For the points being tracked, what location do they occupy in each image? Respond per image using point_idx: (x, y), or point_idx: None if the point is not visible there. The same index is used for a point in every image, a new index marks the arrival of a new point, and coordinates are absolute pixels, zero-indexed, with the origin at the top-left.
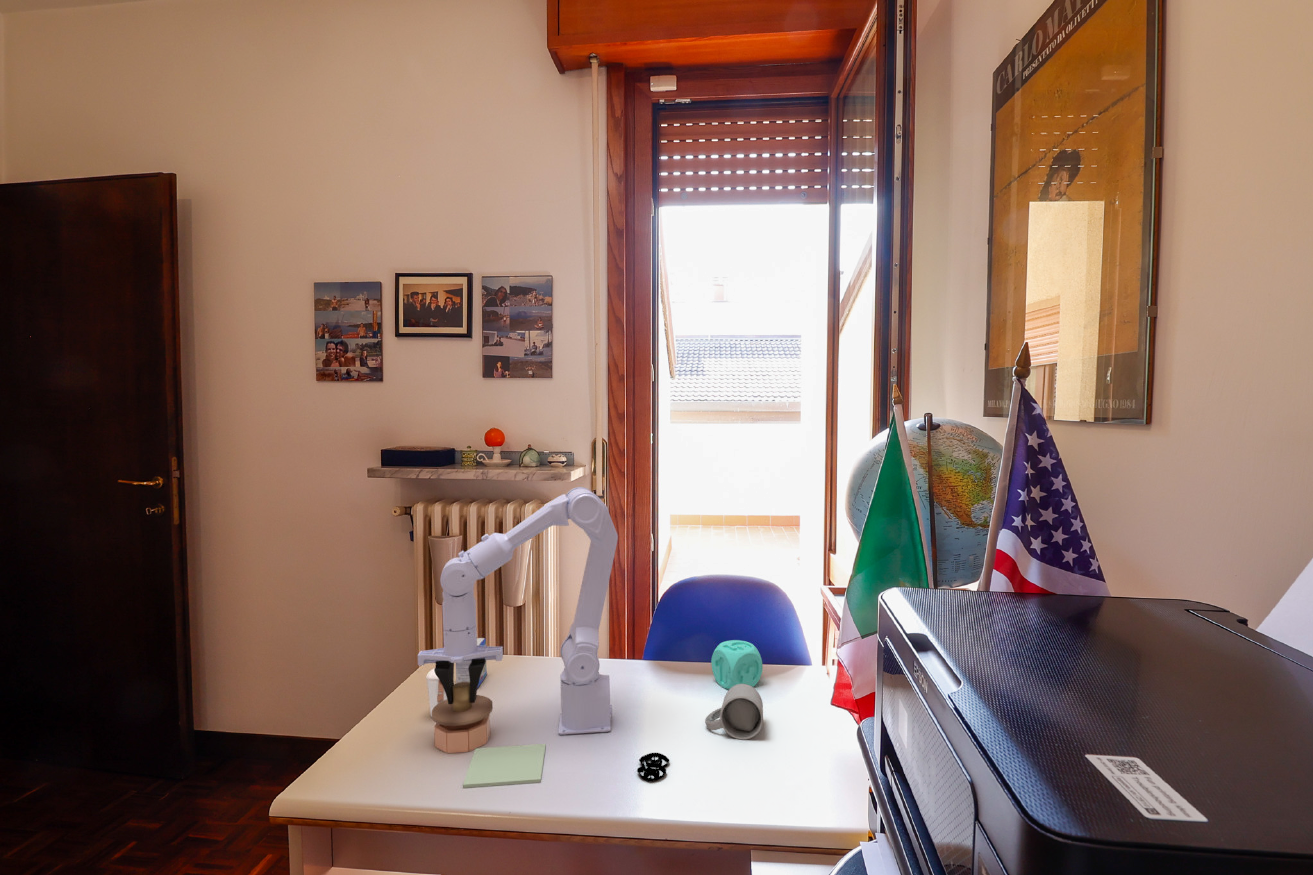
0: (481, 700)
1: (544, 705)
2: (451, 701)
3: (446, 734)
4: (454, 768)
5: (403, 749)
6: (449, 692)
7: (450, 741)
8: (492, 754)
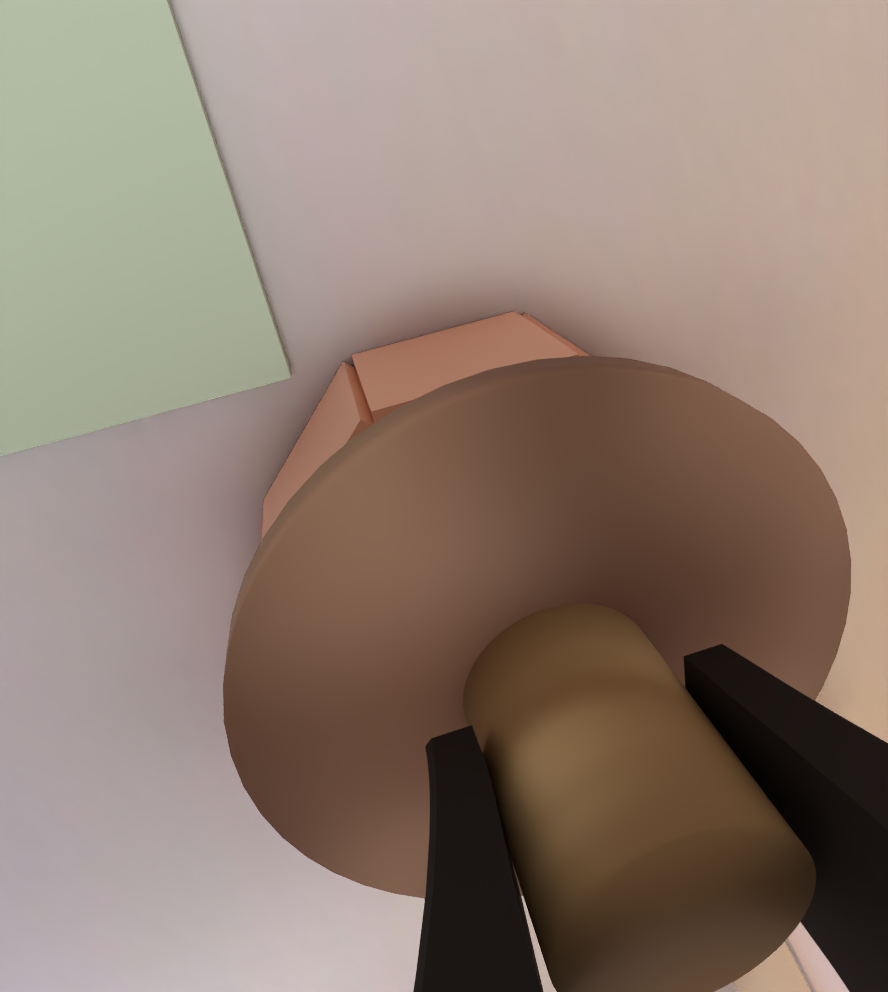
0: (419, 836)
1: (114, 976)
2: (707, 670)
3: None
4: (343, 52)
5: (855, 322)
6: (813, 748)
7: (518, 340)
8: (67, 297)
